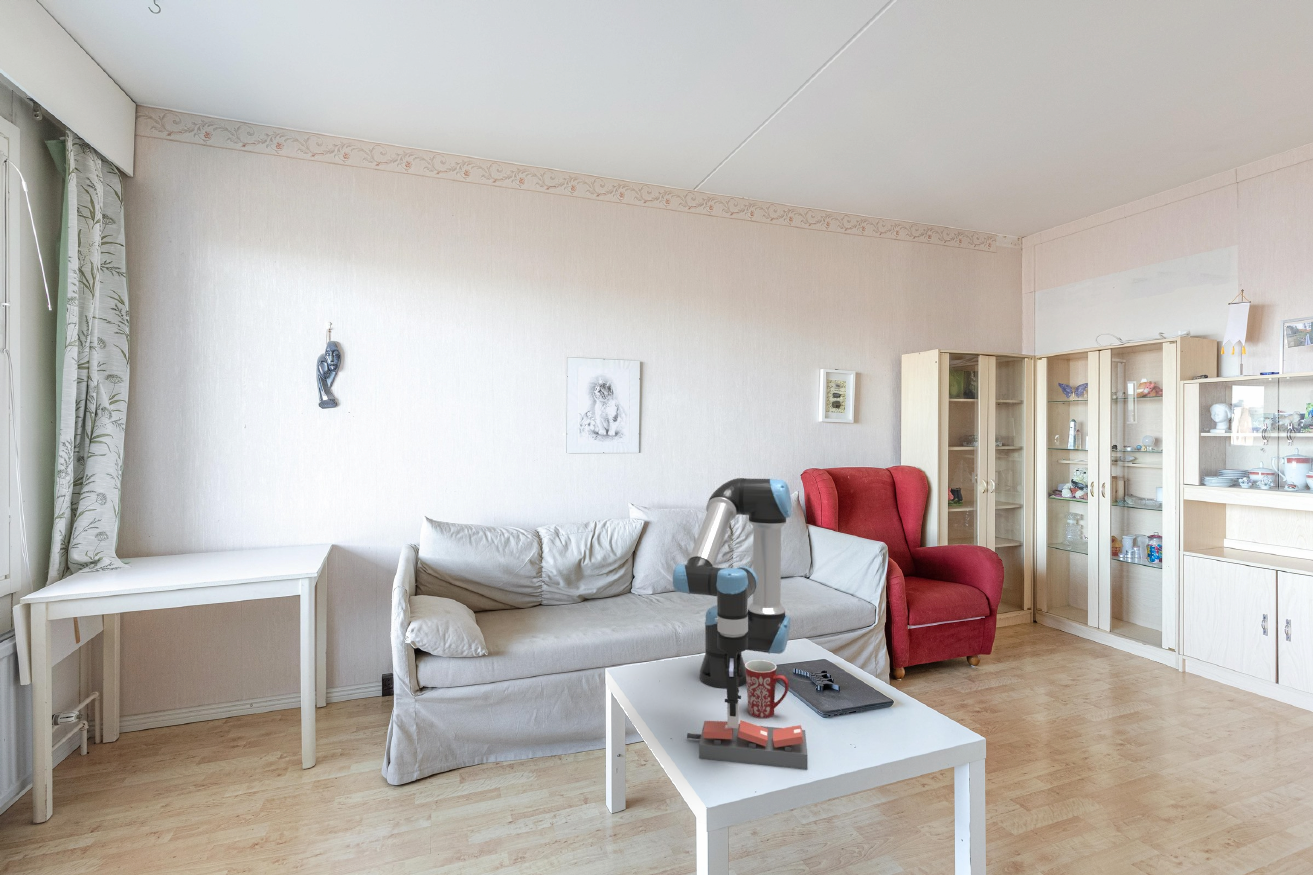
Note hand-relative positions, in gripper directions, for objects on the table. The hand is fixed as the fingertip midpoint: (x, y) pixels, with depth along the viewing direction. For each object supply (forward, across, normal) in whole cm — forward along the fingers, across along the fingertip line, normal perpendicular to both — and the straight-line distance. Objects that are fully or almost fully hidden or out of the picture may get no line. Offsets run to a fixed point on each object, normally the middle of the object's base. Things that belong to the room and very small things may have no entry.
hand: (733, 726), depth 155 cm
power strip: (+7, -3, +3) cm, 8 cm away
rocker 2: (+1, 0, +13) cm, 13 cm away
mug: (+7, -23, +8) cm, 26 cm away
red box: (+1, 0, +5) cm, 5 cm away
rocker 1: (+1, 0, -4) cm, 4 cm away
